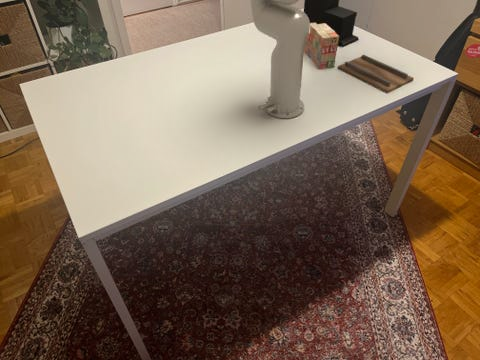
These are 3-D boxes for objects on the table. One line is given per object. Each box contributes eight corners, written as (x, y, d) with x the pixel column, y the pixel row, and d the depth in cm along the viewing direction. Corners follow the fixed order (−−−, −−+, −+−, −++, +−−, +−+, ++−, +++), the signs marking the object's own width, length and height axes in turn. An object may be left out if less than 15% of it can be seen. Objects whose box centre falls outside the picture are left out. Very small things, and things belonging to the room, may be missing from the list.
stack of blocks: (299, 46, 154) (301, 16, 146) (313, 44, 155) (316, 14, 147) (319, 69, 139) (323, 37, 131) (334, 67, 140) (339, 35, 132)
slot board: (386, 93, 125) (388, 86, 123) (337, 68, 139) (338, 62, 137) (413, 80, 131) (415, 74, 129) (363, 57, 145) (364, 51, 143)
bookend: (359, 40, 157) (370, -21, 140) (342, 48, 152) (352, -14, 136) (317, 25, 170) (323, -32, 154) (301, 31, 165) (305, -27, 149)
